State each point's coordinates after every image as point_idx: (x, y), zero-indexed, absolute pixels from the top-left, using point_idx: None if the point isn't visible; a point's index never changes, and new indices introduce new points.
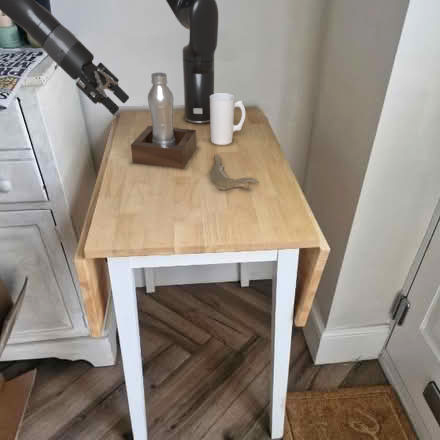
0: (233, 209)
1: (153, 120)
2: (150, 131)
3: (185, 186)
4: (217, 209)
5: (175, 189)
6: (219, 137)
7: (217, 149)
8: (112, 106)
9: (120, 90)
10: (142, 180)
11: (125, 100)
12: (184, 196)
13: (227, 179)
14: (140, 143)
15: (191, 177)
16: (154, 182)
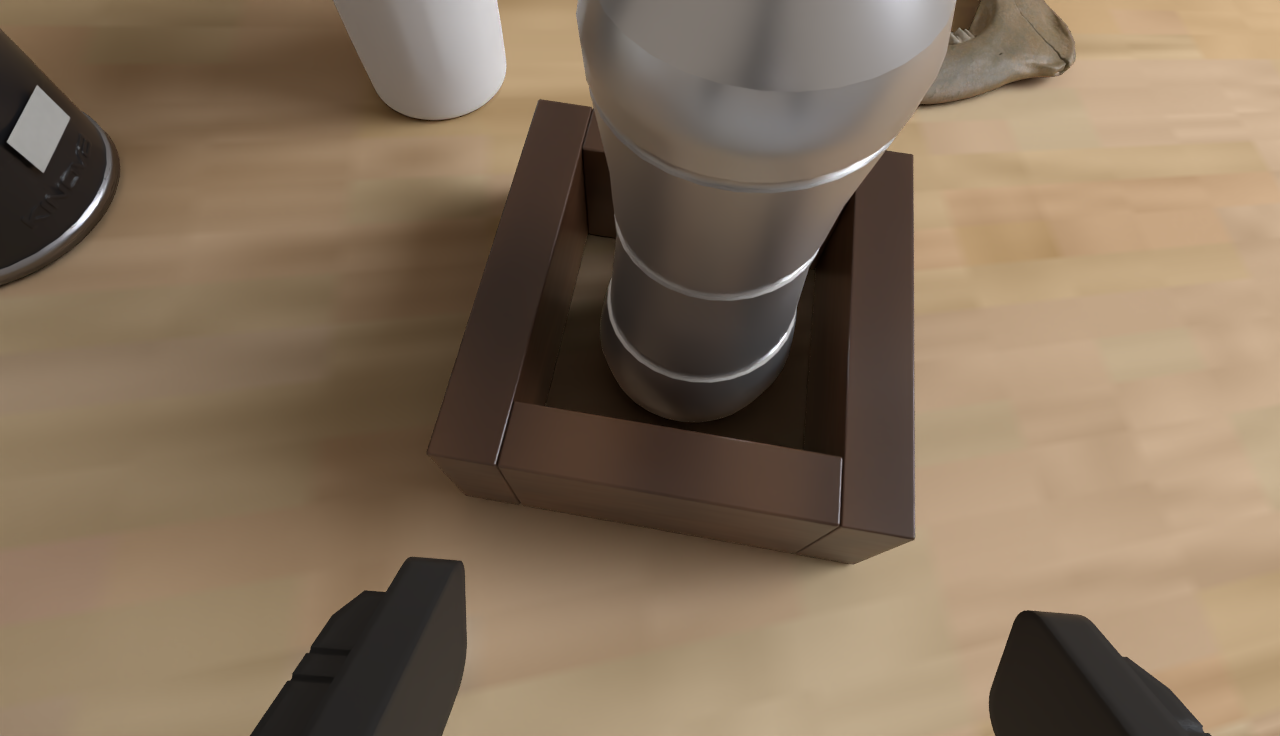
0: (1198, 30)
1: (810, 256)
2: (581, 412)
3: (1070, 211)
4: (1228, 80)
5: (1123, 254)
6: (498, 40)
7: (567, 89)
8: (1188, 713)
9: (386, 718)
10: (1088, 449)
11: (457, 626)
12: (1177, 208)
13: (1007, 21)
14: (871, 455)
15: (957, 191)
16: (1086, 372)
